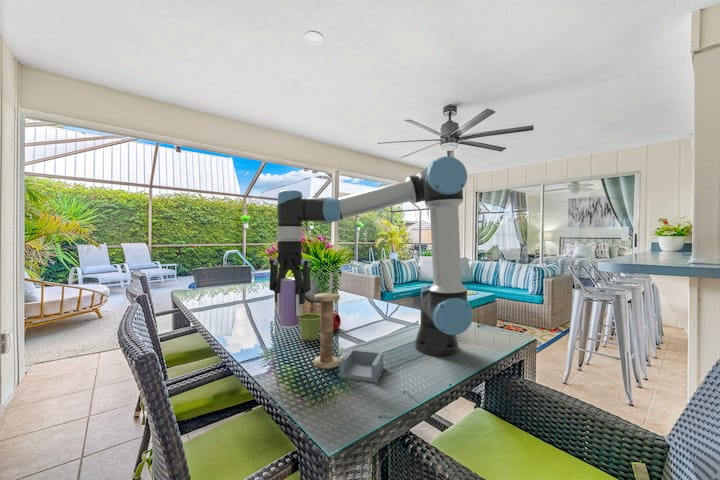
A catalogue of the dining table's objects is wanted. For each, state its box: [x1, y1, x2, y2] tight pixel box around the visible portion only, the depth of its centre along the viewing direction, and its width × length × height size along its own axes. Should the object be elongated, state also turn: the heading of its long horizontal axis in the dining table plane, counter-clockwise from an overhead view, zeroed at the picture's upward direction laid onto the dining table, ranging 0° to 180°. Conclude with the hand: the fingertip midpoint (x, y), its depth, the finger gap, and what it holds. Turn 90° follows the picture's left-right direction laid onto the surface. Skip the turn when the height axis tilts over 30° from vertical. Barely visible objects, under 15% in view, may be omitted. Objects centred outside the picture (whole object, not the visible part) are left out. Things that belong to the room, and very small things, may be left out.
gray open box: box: [338, 348, 385, 383], centre depth 92 cm, size 11×10×5 cm
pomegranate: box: [319, 310, 342, 332], centre depth 133 cm, size 10×10×9 cm
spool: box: [313, 292, 341, 370], centre depth 98 cm, size 8×8×22 cm
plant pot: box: [299, 313, 321, 342], centre depth 121 cm, size 9×9×9 cm
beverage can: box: [279, 276, 300, 329], centre depth 98 cm, size 6×6×15 cm
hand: (289, 313), depth 98 cm, fingers closed on beverage can, 6 cm apart
